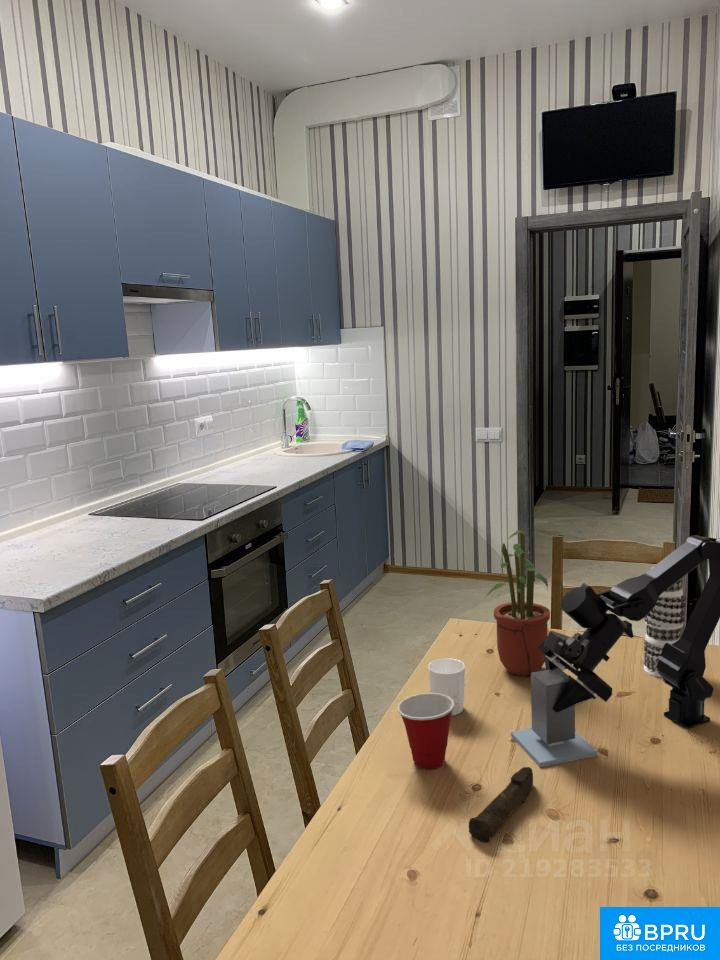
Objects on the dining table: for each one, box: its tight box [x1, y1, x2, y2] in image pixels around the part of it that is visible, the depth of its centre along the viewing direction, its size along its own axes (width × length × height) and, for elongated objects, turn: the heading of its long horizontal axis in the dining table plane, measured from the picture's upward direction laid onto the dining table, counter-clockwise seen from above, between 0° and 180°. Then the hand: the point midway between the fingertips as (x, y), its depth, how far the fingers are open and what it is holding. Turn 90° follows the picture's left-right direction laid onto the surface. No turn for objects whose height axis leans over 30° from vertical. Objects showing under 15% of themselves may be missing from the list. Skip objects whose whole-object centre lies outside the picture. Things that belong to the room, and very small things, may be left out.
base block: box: [510, 727, 598, 768], centre depth 147 cm, size 12×12×4 cm
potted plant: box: [482, 530, 551, 676], centre depth 180 cm, size 17×16×35 cm
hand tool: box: [468, 766, 534, 844], centre depth 127 cm, size 19×4×5 cm, turn 139°
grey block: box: [530, 668, 576, 744], centre depth 146 cm, size 6×6×12 cm
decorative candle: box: [643, 565, 687, 679], centre depth 175 cm, size 9×9×25 cm
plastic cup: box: [397, 692, 454, 771], centre depth 143 cm, size 11×11×12 cm
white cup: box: [427, 657, 466, 717], centre depth 163 cm, size 8×8×10 cm
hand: (546, 703), depth 146 cm, fingers closed on grey block, 6 cm apart
